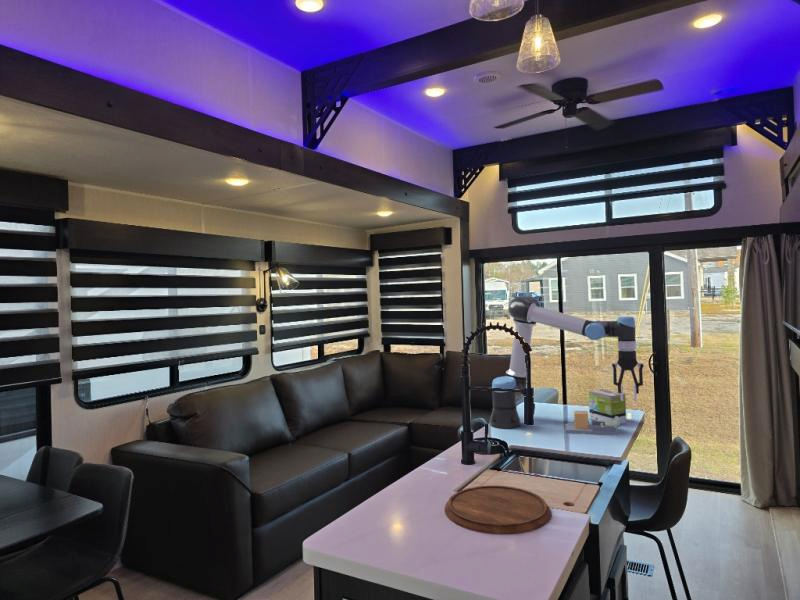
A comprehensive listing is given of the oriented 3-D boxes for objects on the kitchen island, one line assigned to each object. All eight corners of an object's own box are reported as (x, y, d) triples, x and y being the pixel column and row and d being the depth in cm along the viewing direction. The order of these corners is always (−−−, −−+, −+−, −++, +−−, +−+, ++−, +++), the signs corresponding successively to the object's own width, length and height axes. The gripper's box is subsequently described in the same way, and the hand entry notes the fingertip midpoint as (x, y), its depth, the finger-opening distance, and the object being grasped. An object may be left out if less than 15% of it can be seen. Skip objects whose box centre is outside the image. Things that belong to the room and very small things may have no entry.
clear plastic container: (565, 432, 243) (565, 421, 243) (565, 426, 254) (565, 415, 254) (616, 435, 236) (616, 423, 236) (614, 428, 248) (614, 416, 248)
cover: (605, 426, 239) (605, 420, 239) (604, 422, 247) (604, 415, 247) (619, 427, 237) (619, 420, 237) (617, 422, 245) (617, 416, 245)
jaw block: (574, 428, 244) (574, 413, 244) (574, 425, 250) (574, 410, 250) (588, 428, 243) (587, 413, 243) (587, 425, 248) (587, 411, 248)
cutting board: (478, 485, 182) (478, 477, 182) (568, 506, 162) (567, 497, 162) (423, 517, 157) (423, 508, 157) (521, 546, 137) (521, 537, 137)
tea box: (588, 419, 266) (587, 390, 266) (603, 417, 270) (602, 388, 270) (612, 425, 253) (611, 395, 252) (627, 423, 257) (626, 393, 257)
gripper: (606, 351, 239) (608, 401, 239) (649, 351, 233) (651, 402, 234) (605, 349, 246) (607, 398, 246) (647, 349, 241) (648, 399, 241)
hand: (628, 400), depth 240 cm, fingers open, 5 cm apart
